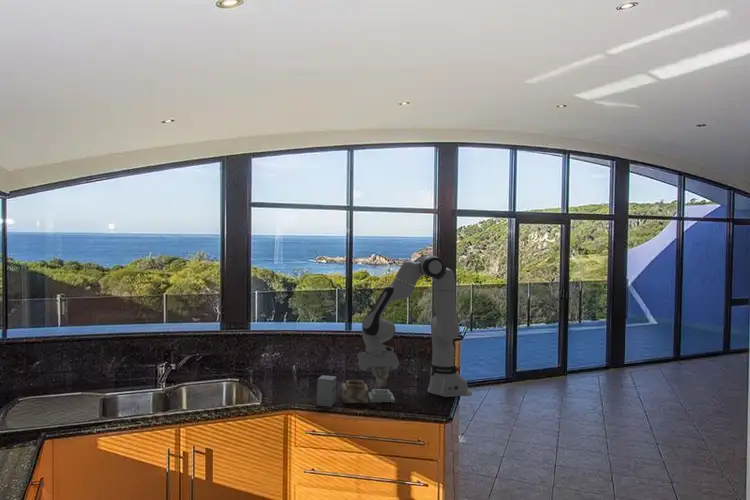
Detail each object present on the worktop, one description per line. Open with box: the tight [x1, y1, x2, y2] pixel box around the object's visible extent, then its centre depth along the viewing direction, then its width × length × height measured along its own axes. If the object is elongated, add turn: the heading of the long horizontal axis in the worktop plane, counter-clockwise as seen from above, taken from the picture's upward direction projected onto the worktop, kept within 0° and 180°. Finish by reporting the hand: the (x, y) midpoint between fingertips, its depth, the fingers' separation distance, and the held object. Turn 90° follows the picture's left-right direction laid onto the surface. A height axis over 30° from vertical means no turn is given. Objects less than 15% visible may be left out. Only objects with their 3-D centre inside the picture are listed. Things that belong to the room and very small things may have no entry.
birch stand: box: [341, 380, 370, 404], centre depth 291 cm, size 12×12×8 cm
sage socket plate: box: [368, 388, 396, 404], centre depth 293 cm, size 12×12×4 cm
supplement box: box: [316, 374, 337, 408], centre depth 281 cm, size 7×7×13 cm
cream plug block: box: [375, 368, 388, 388], centre depth 293 cm, size 4×4×8 cm
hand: (382, 376), depth 292 cm, fingers closed on cream plug block, 4 cm apart
